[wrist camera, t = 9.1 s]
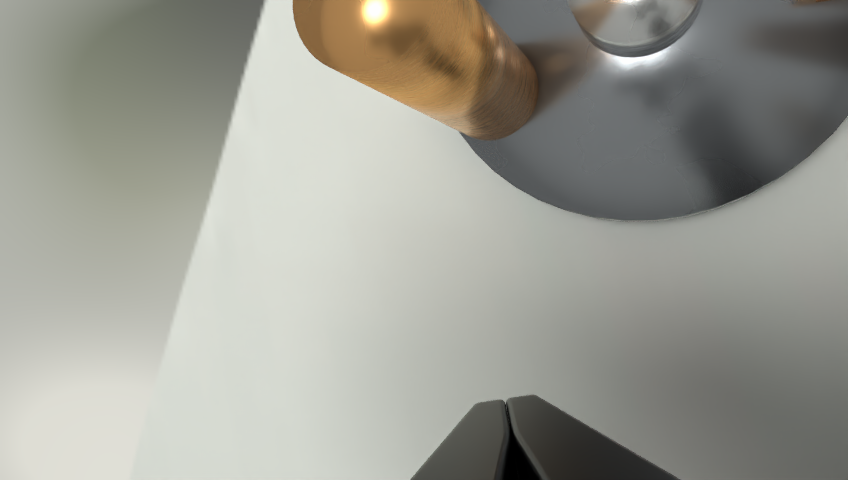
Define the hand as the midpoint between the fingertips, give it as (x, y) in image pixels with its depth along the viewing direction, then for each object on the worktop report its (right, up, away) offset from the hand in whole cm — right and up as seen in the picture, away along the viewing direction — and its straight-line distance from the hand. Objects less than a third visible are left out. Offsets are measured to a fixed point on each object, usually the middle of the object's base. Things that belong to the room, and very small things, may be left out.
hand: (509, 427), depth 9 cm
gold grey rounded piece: (+6, +9, +11) cm, 16 cm away
